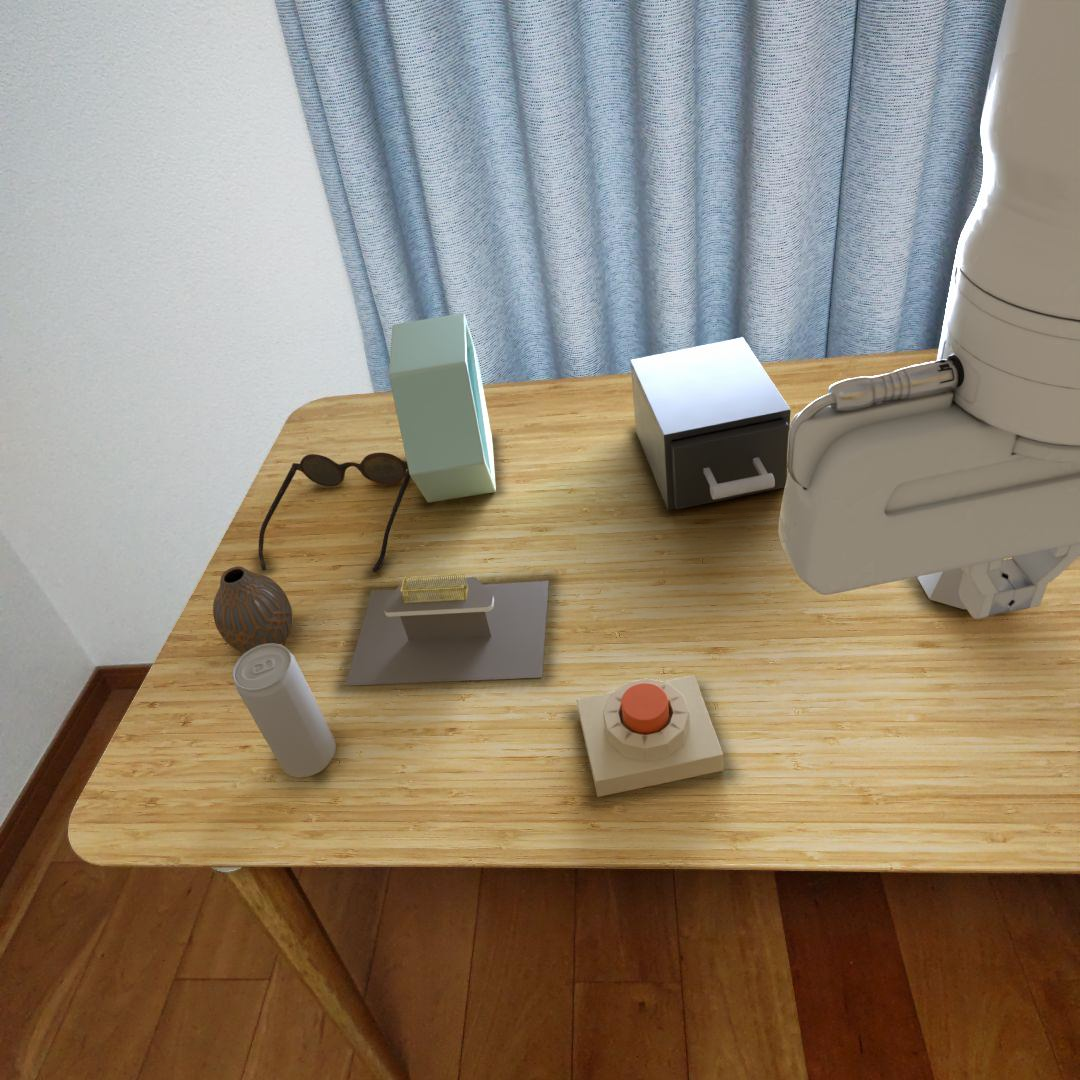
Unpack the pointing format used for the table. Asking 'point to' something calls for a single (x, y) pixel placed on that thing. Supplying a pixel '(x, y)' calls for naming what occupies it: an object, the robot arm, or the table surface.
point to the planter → (441, 408)
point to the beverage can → (284, 709)
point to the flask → (943, 587)
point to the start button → (645, 708)
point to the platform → (451, 632)
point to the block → (649, 739)
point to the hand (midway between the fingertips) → (997, 603)
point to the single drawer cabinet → (699, 399)
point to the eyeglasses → (331, 474)
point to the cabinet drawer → (729, 463)
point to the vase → (251, 610)
